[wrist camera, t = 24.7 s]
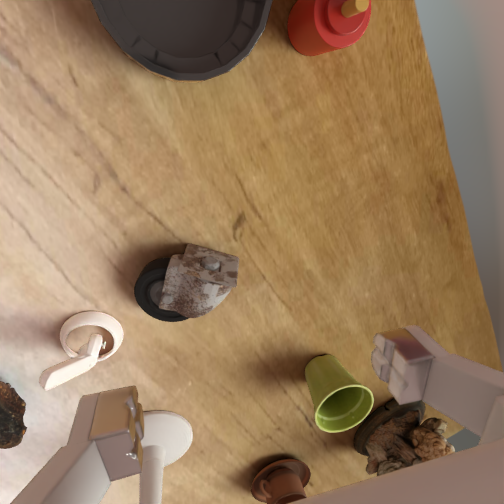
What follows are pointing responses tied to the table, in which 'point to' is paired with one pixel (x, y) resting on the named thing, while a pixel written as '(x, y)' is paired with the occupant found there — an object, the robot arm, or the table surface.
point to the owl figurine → (400, 438)
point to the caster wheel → (186, 283)
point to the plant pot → (336, 395)
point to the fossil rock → (11, 417)
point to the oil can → (327, 24)
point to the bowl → (185, 34)
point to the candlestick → (161, 450)
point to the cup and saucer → (281, 482)
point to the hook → (82, 348)
